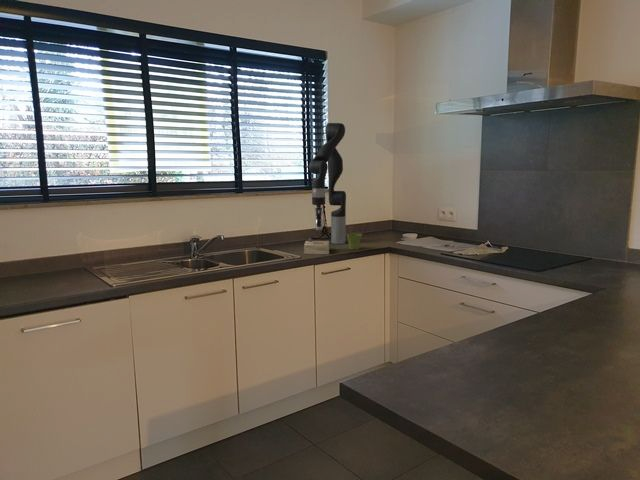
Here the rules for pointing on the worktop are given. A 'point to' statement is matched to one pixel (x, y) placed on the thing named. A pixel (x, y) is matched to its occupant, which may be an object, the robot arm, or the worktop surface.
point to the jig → (316, 247)
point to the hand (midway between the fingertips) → (318, 226)
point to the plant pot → (354, 241)
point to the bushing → (316, 225)
